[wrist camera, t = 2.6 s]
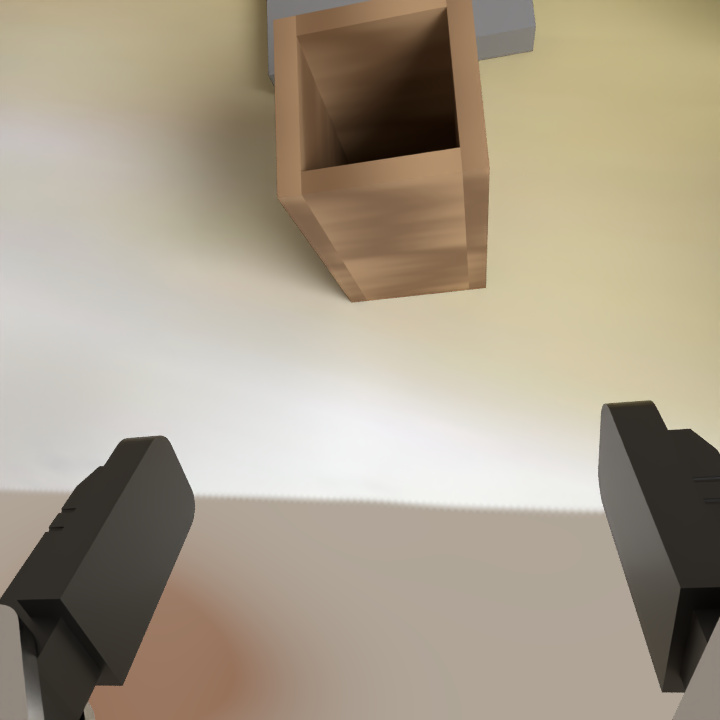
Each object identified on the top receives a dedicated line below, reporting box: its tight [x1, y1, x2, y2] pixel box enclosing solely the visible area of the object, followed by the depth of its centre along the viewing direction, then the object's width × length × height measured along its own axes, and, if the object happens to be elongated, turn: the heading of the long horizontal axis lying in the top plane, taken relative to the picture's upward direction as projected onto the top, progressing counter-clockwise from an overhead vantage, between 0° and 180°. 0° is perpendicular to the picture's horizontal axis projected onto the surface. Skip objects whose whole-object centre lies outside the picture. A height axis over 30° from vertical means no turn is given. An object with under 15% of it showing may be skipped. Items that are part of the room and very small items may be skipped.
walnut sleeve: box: [273, 0, 490, 302], centre depth 21 cm, size 6×6×10 cm
